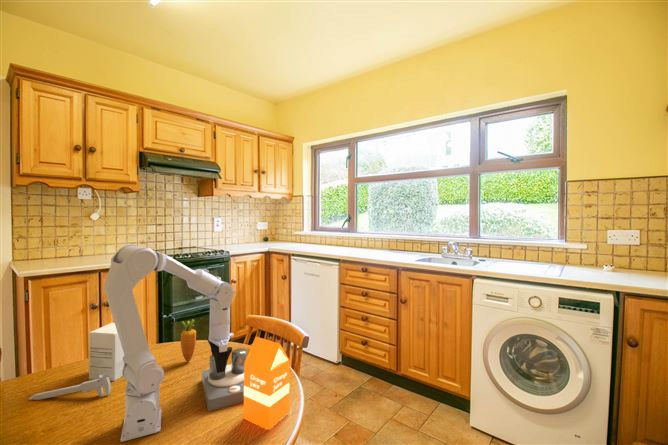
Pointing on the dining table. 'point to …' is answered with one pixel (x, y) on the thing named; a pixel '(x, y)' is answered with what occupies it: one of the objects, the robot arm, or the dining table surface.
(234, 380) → the kitchen scale
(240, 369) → the steel weight
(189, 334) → the carrot
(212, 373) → the steel weight
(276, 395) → the orange juice
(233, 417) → the dining table surface
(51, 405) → the dining table surface
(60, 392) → the caliper
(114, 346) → the supplement box
